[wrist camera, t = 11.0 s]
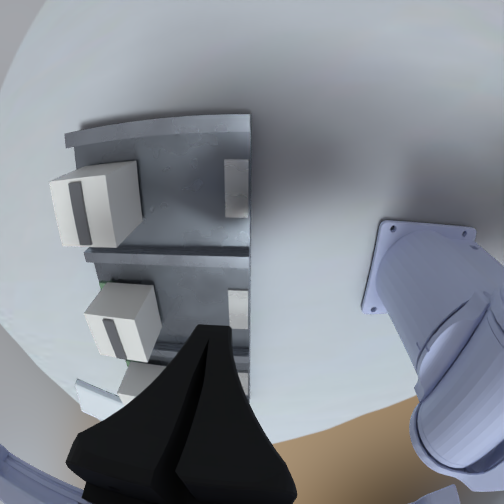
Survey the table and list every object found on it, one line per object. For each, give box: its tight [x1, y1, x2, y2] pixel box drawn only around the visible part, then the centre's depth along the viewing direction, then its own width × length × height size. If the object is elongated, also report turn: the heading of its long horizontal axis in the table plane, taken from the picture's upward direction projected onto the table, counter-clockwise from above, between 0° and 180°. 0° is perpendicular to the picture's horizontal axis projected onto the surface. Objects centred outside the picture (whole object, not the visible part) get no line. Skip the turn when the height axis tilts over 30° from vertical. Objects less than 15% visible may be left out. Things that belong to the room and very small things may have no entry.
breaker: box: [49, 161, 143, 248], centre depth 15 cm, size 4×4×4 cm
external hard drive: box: [75, 379, 124, 420], centre depth 32 cm, size 2×8×12 cm
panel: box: [65, 114, 251, 402], centre depth 22 cm, size 12×27×2 cm, turn 0°
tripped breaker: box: [117, 361, 166, 406], centre depth 24 cm, size 4×4×4 cm
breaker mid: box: [84, 282, 162, 362], centre depth 19 cm, size 4×4×4 cm
